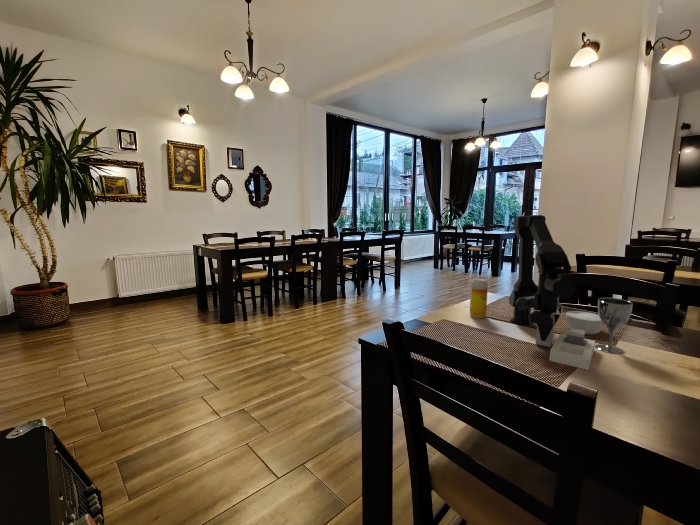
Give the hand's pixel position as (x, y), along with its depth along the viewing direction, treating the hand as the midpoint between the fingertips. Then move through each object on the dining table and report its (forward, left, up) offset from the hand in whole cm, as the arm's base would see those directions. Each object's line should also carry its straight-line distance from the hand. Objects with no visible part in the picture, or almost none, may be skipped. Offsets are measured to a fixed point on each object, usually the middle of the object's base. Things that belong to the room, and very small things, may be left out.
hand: (544, 338), depth 105 cm
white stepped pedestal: (+4, +8, -2) cm, 9 cm away
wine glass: (-8, +16, -2) cm, 18 cm away
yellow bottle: (-15, -26, -2) cm, 30 cm away
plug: (0, 0, -2) cm, 2 cm away
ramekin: (-23, +8, -2) cm, 24 cm away
